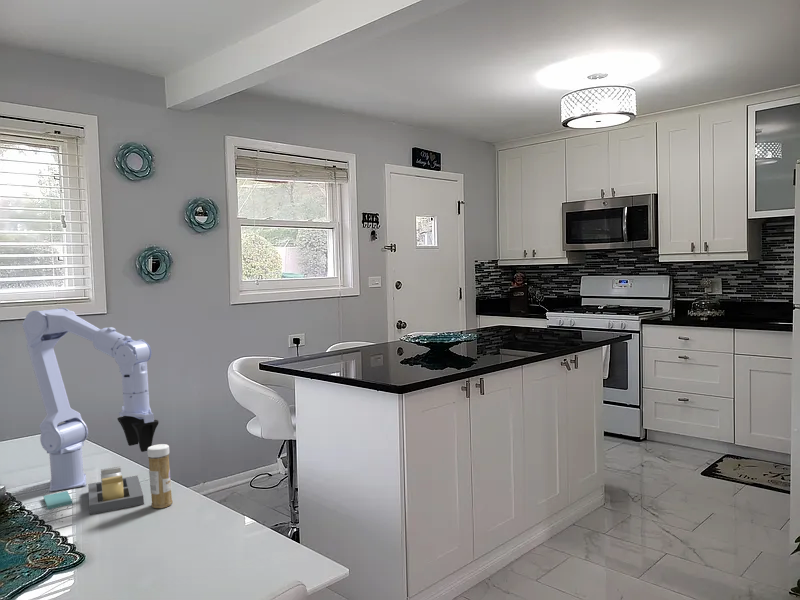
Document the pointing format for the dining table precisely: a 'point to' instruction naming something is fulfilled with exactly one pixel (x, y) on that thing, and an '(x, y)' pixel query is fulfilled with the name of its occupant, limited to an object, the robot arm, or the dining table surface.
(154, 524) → the dining table surface
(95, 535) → the dining table surface
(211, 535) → the dining table surface
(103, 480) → the beige cylinder with tab
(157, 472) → the spice jar
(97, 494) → the housing
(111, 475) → the grey knob with ridge
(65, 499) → the lid plate
